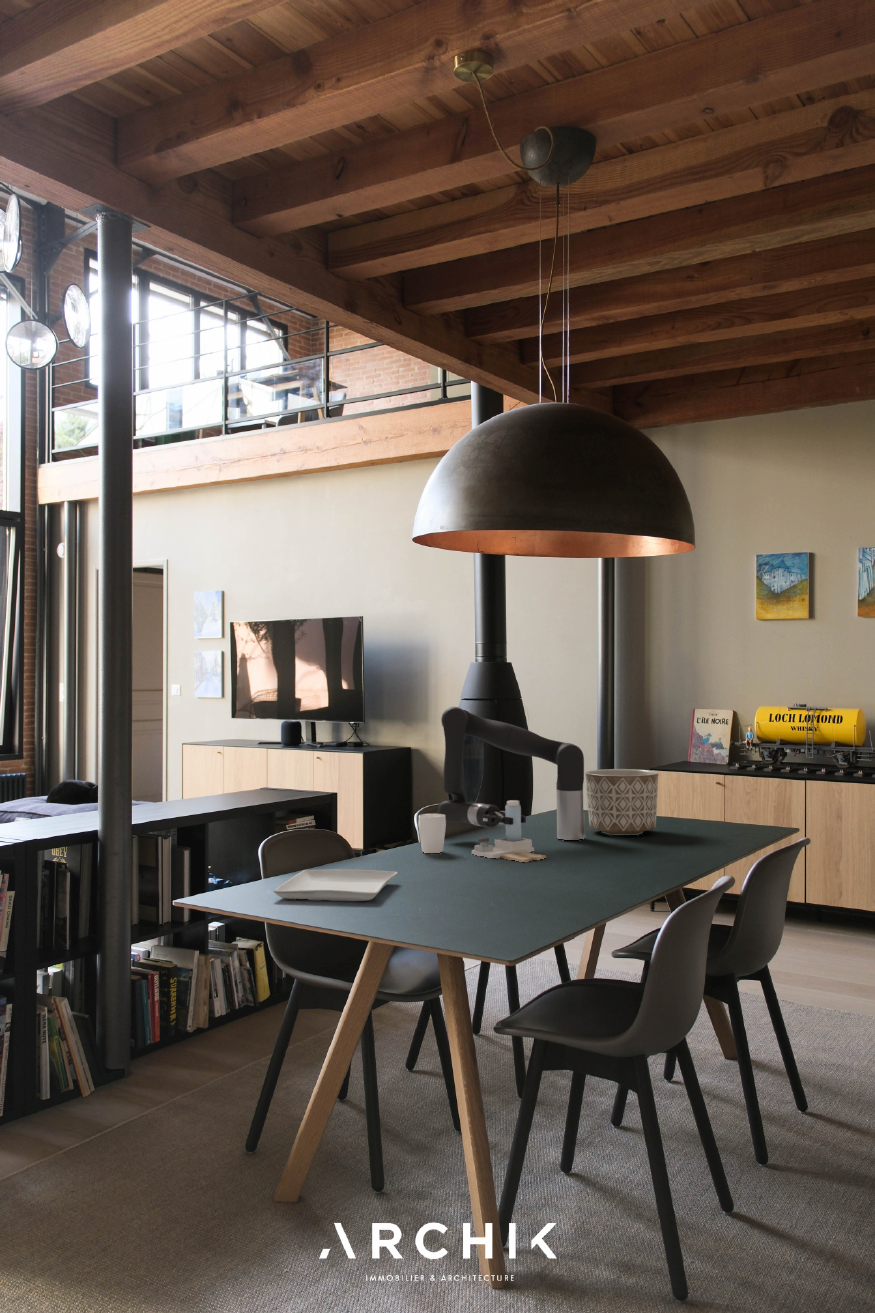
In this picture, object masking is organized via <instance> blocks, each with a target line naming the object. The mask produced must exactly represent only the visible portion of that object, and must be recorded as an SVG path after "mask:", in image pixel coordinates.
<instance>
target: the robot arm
mask: <svg viewBox="0 0 875 1313" xmlns="http://www.w3.org/2000/svg"><path fill="white" fill-rule="evenodd" d="M440 720H441V725H442V728H443V735H444V742H445V743H444V744H445V748H444V749H445V751H444V763H443V781H442V784H443V785H442V787H443V788H442V789H443V792H444V793H445V794H450V795H451V797H452V799H450V800H444V801H442V802H441V803H439V805H438V808H437V814H444V815H445V818H446V822H448V823H449V822H450V823H464V824H471V825H474V826H479V827H484V828H491V829H494V828H496V827H497V826H498V825H506V824H509V825H513V818H511V817H505V810H500V808H499V807H498V806H497V805H495V804H488V803H481V802H478V803H475V802H467V798H466V794H465V790H464V742H465V741H464V740H465V737H466V736H470V737H474V738H476V739H479V740H482V741H483V742H485V743H487V744H489V745H491V746H493V747H495V748H498V749H501V750H504V751H507V752H510V753H514V754H517V755H521V756H527V757H532V758H533V757H535V758H539V759H542V760H544V761H547V762H550V763H552V764H554V765H556V767H557V770H556V771H557V772H556V773H557V776H556V783H555V784H556V839H557V838H558V839H564V840H579V839H583V840H585V839H586V838H587V836H586V835H587V834H586V811H585V810H584V783H585V757H584V753H583V750H582V749H581V747H579V746H578V745H575V744H574V743H570V742H562V741H557V740H554V739H550V738H547V737H543V736H541V735H539V734H537V733H535V732H533V731H532V730H528V729H525V728H523V727H521V726H517V725H514V724H511V723H507V722H502V721H499V720H493V719H489V718H484V717H481V716H478V715H476V714H474V713H471V712H468V711H467V710H465V709H463V708H461V707H458V706H451V707H448V708H446V709H445V710H444V711H443V713H442V715H441V719H440ZM526 822H527V816H526V815H521V824H525V823H526ZM585 837H586V838H585ZM584 838H585V839H584ZM558 839H557V840H558ZM564 840H563V841H564ZM579 841H580V840H579Z"/></svg>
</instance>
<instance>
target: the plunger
mask: <svg viewBox="0 0 875 1313" xmlns="http://www.w3.org/2000/svg"><path fill="white" fill-rule="evenodd" d="M477 841H478V842H480V844H479V845H480V846H482V847H485V846H487V845H488V842H490V838H489V837H487V836H486V837H485V836H484V837H483V836H481V837H478V839H477Z"/></svg>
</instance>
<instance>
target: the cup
mask: <svg viewBox="0 0 875 1313" xmlns="http://www.w3.org/2000/svg"><path fill="white" fill-rule="evenodd" d="M417 823H418V832H419V839H420V845H421V847H420V848H421V852H422V851H423V852H424V853H423V852H422V853H423V854H425V853H440V852H442V851H444V843H445V835H446V829H447V828H446V826H447V821H446V818H445V815H444V814H438V813H422V814H419V815H418V822H417ZM442 853H443V852H442ZM440 854H441V853H440Z"/></svg>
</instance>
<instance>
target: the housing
mask: <svg viewBox="0 0 875 1313" xmlns="http://www.w3.org/2000/svg"><path fill="white" fill-rule="evenodd" d="M532 842H533V841H532V839H530V838H523V837H521V841H515V842H511V841H506V837H501V838H496V839H495V838H494V845H492V844H487V846H485V847H482V846H480V844H475V845H474V846H473V847H474V849H471V855H472V854H474V855H473V856H475V855H477V856H476V857H480V856H484V857H483V858H485V857H487V859H490V858H496V859H501V858H500V857H501V855H506V854H512V853H518V852H531V851H534V852H535V847H533V845H532V844H533V843H532Z"/></svg>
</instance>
